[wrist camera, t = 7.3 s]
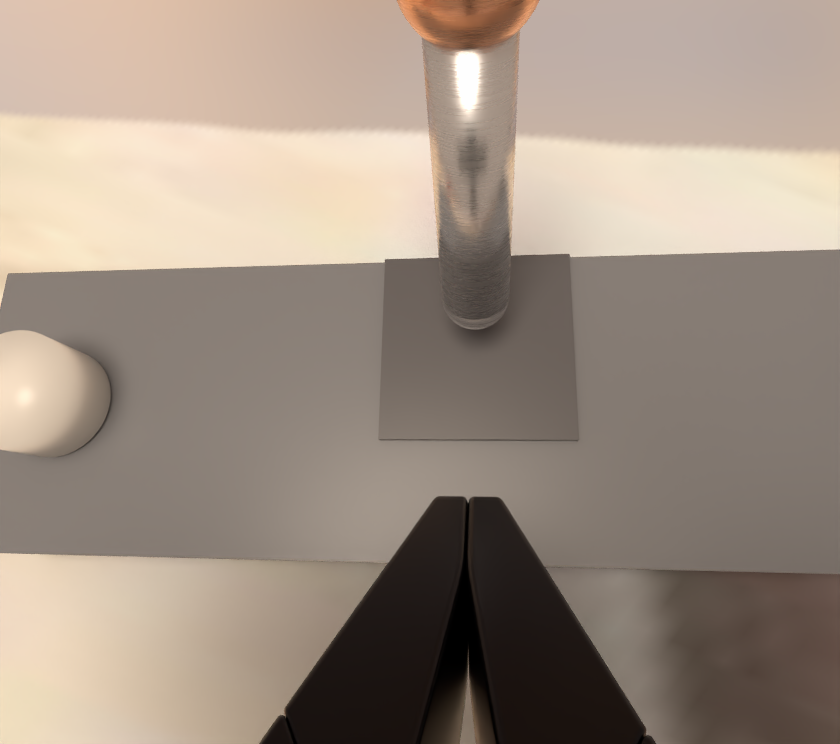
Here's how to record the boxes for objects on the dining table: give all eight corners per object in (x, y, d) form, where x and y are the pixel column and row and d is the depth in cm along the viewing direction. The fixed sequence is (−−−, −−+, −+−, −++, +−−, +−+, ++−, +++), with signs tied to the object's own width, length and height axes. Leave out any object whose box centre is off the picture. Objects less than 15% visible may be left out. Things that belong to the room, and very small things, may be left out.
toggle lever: (527, 355, 14) (565, -129, 7) (425, 356, 14) (369, -111, 7) (521, 286, 15) (550, -166, 9) (430, 288, 16) (388, -150, 9)
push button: (101, 457, 16) (54, 448, 14) (-3, 457, 16) (-61, 448, 14) (118, 350, 17) (75, 329, 15) (19, 351, 17) (-34, 331, 15)
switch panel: (995, 571, 16) (1141, 582, 12) (41, 548, 19) (-60, 552, 15) (934, 297, 18) (1043, 240, 15) (83, 314, 21) (2, 270, 18)
